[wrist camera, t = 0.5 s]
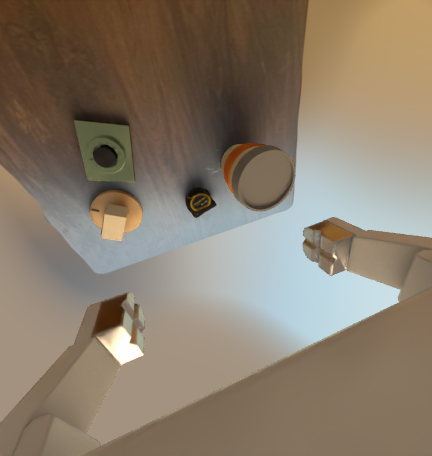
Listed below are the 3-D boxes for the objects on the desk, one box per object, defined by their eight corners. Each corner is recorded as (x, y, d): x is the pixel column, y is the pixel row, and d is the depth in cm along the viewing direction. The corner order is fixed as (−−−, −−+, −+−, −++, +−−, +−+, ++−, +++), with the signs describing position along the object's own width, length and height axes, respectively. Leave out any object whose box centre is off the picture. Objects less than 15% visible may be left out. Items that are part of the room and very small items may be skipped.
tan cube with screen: (103, 223, 45) (98, 238, 40) (106, 200, 42) (101, 213, 38) (126, 227, 47) (124, 241, 42) (130, 205, 44) (128, 218, 40)
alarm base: (76, 119, 35) (69, 120, 32) (129, 124, 38) (128, 126, 35) (89, 178, 40) (85, 183, 38) (135, 179, 43) (134, 184, 40)
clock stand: (89, 226, 46) (87, 229, 45) (93, 184, 41) (92, 186, 40) (137, 233, 51) (137, 236, 49) (146, 196, 46) (146, 199, 45)
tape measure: (193, 214, 52) (195, 221, 49) (179, 194, 48) (181, 200, 45) (214, 201, 52) (218, 207, 49) (202, 180, 48) (206, 185, 45)
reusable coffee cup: (203, 163, 46) (223, 185, 34) (242, 123, 43) (278, 131, 31) (234, 195, 53) (259, 223, 41) (268, 162, 51) (306, 181, 39)
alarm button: (93, 145, 35) (91, 147, 34) (115, 146, 36) (113, 148, 35) (97, 165, 37) (95, 167, 36) (117, 166, 38) (116, 168, 37)
